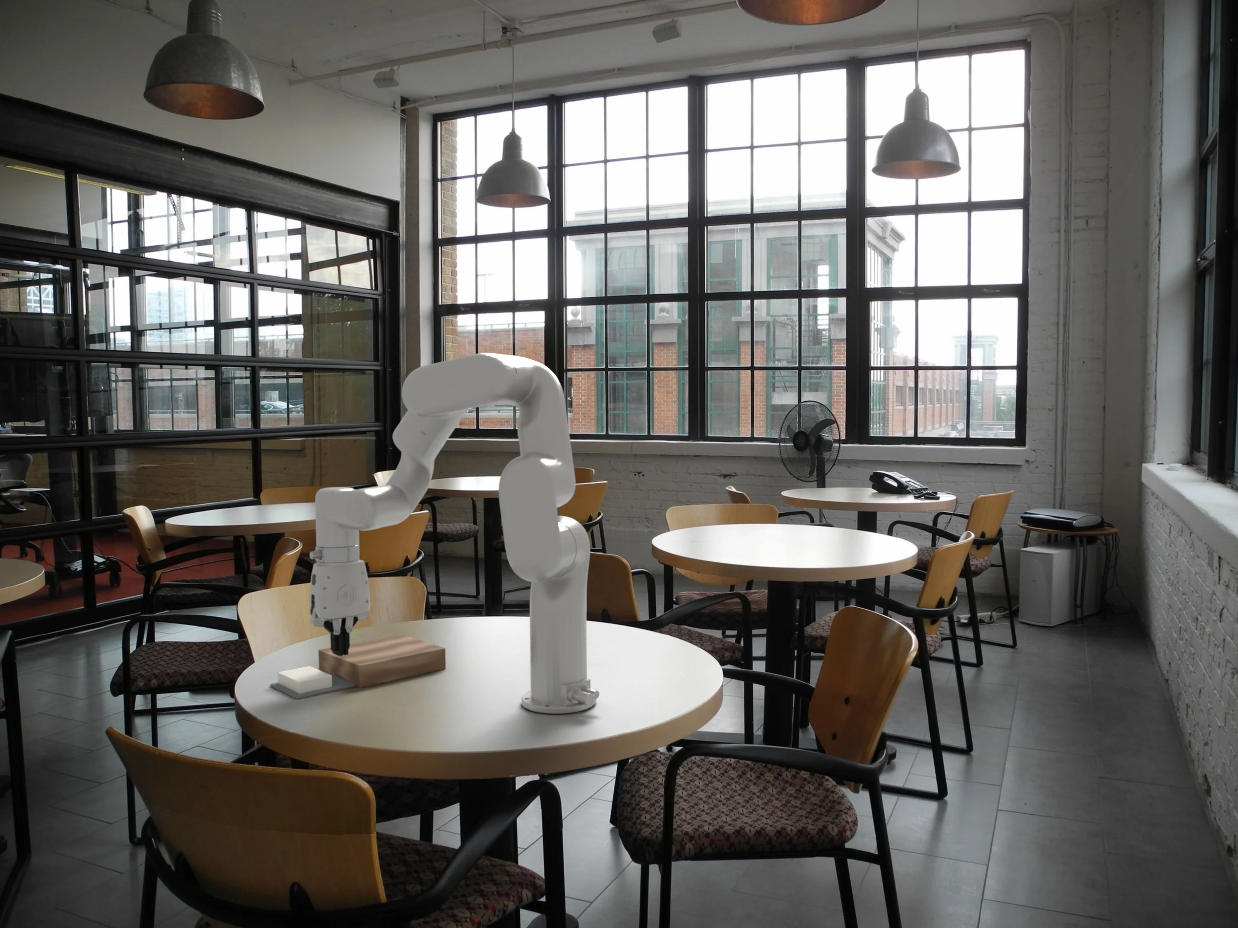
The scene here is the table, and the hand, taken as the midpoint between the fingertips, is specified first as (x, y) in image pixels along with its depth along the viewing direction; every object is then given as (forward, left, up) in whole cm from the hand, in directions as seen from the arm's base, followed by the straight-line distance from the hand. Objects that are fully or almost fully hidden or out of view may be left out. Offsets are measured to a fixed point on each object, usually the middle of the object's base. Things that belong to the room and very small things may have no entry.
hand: (340, 653), depth 173 cm
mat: (0, +5, -5) cm, 7 cm away
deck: (+1, -9, -5) cm, 10 cm away
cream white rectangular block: (0, +7, -3) cm, 7 cm away
